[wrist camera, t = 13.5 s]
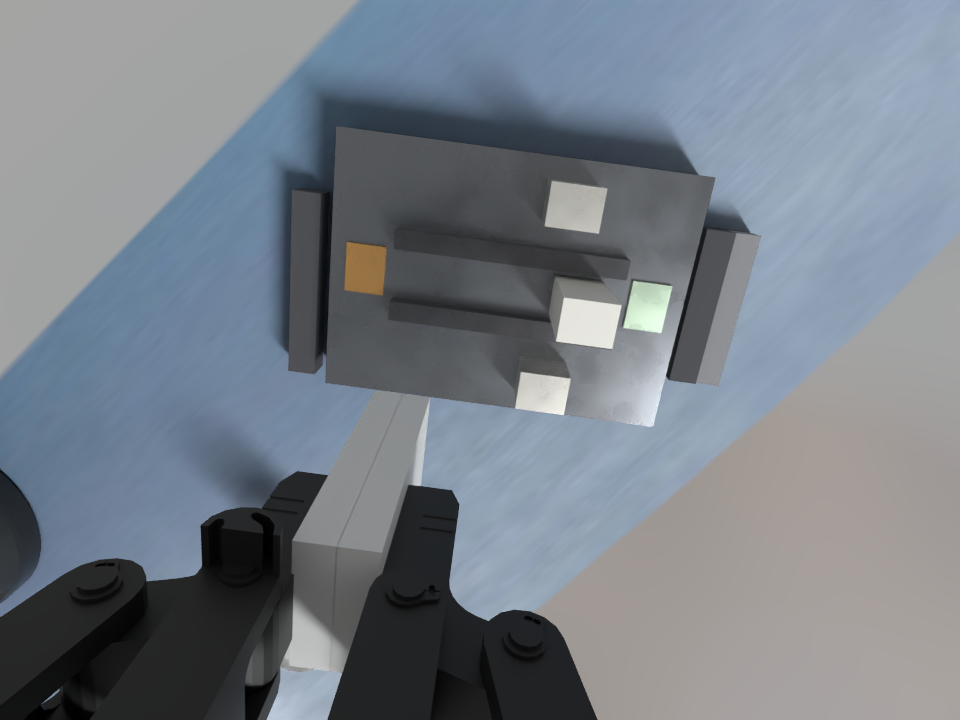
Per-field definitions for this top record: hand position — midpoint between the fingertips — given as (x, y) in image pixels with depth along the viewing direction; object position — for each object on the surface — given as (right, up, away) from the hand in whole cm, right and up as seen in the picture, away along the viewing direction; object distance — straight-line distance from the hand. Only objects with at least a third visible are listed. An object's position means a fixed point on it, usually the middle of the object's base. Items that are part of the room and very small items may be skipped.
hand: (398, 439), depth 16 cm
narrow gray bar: (+16, +6, +23) cm, 29 cm away
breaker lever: (+8, +6, +20) cm, 23 cm away
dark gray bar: (-9, +8, +24) cm, 26 cm away
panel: (+4, +8, +23) cm, 25 cm away
